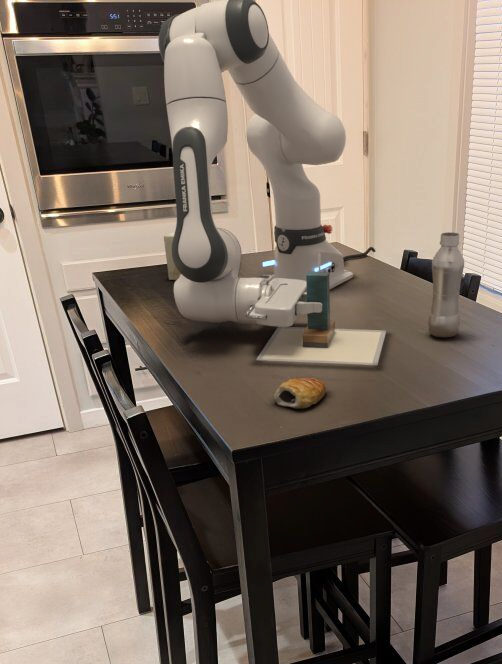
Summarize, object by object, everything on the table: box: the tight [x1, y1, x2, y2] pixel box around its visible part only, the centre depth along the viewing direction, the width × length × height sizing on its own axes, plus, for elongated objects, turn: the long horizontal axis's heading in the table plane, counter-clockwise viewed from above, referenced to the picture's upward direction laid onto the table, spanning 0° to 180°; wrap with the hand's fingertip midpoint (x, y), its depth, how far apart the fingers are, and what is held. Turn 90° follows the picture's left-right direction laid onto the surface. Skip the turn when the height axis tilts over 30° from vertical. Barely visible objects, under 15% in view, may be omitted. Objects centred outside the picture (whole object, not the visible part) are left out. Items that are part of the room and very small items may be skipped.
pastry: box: [273, 377, 327, 410], centre depth 121 cm, size 9×7×4 cm
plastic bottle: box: [427, 232, 465, 338], centre depth 143 cm, size 6×7×20 cm
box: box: [163, 231, 181, 281], centre depth 187 cm, size 5×4×11 cm
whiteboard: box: [255, 326, 387, 366], centre depth 143 cm, size 23×20×1 cm
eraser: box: [302, 271, 336, 348], centre depth 142 cm, size 5×10×13 cm, turn 172°
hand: (324, 303), depth 141 cm, fingers closed on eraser, 3 cm apart
